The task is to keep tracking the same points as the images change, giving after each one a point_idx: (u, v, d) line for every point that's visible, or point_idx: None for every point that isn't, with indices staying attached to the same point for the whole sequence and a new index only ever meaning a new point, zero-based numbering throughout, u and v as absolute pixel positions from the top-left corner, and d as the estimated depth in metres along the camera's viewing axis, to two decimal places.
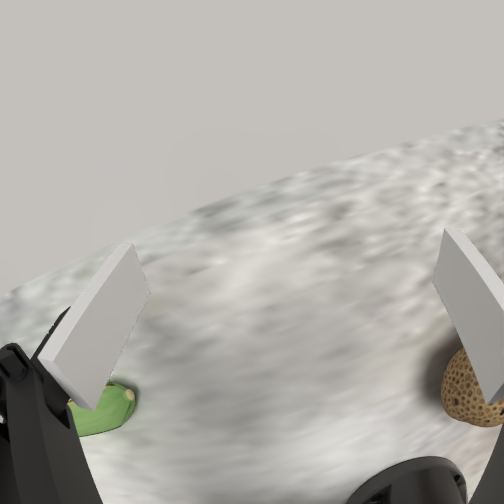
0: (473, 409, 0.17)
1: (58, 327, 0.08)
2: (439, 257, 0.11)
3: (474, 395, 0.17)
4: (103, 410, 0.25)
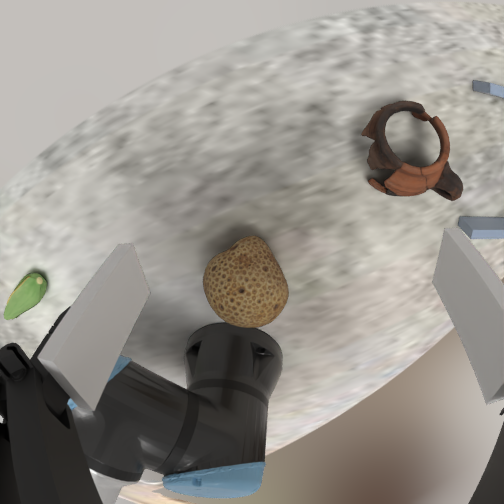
0: None
1: (58, 327, 0.08)
2: (439, 256, 0.11)
3: (208, 300, 0.31)
4: (27, 294, 0.39)
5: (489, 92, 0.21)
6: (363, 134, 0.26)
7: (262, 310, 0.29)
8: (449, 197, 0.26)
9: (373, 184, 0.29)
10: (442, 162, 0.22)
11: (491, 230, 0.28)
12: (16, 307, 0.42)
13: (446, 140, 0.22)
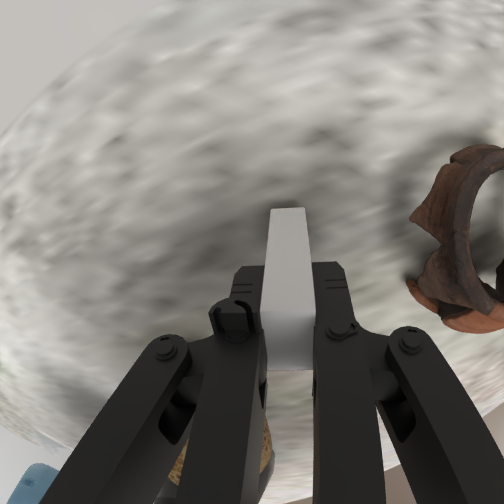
0: None
1: (265, 280, 0.09)
2: None
3: None
4: None
5: None
6: (414, 221, 0.12)
7: None
8: None
9: (417, 299, 0.15)
10: None
11: None
12: None
13: None
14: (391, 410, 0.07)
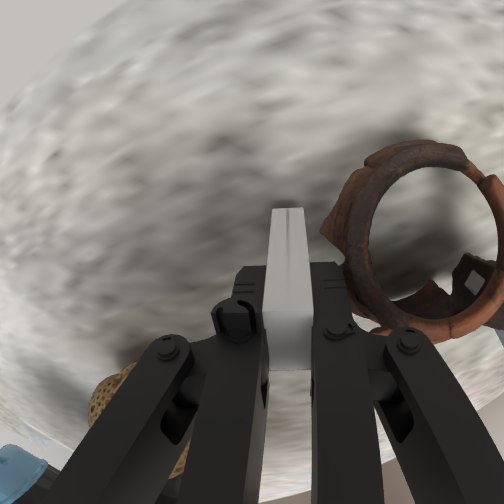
0: None
1: (267, 280, 0.09)
2: None
3: None
4: None
5: None
6: (323, 233, 0.12)
7: None
8: None
9: None
10: (500, 298, 0.09)
11: None
12: None
13: None
14: (389, 411, 0.07)
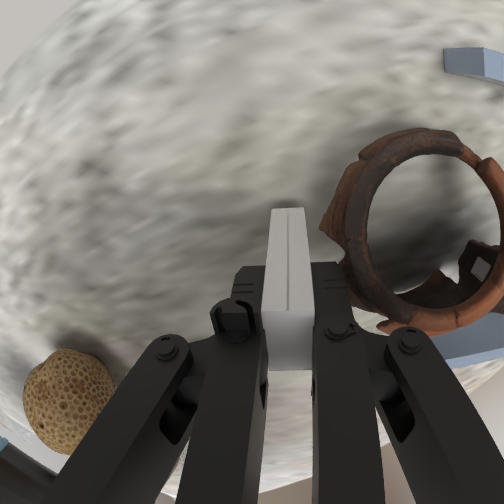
0: None
1: (266, 280, 0.09)
2: None
3: None
4: None
5: (482, 72, 0.08)
6: (322, 229, 0.12)
7: (69, 449, 0.17)
8: None
9: None
10: None
11: (464, 356, 0.15)
12: None
13: None
14: (390, 411, 0.07)
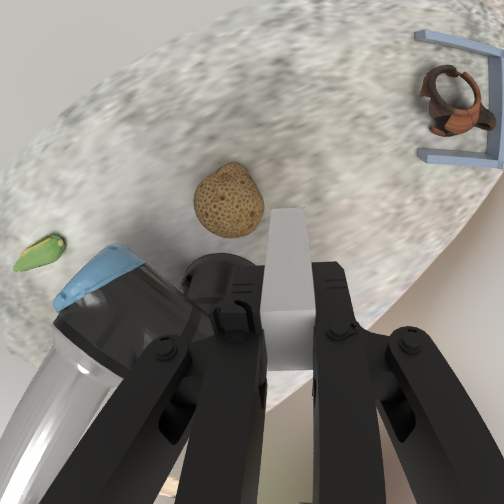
0: (201, 222, 0.38)
1: (265, 280, 0.09)
2: None
3: (197, 212, 0.37)
4: (47, 253, 0.48)
5: (425, 37, 0.26)
6: (421, 95, 0.31)
7: (239, 215, 0.35)
8: (489, 128, 0.29)
9: (435, 131, 0.34)
10: (478, 103, 0.26)
11: (447, 156, 0.34)
12: (31, 262, 0.50)
13: (476, 87, 0.26)
14: (390, 411, 0.07)
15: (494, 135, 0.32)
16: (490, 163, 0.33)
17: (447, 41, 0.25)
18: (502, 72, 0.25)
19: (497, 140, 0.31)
